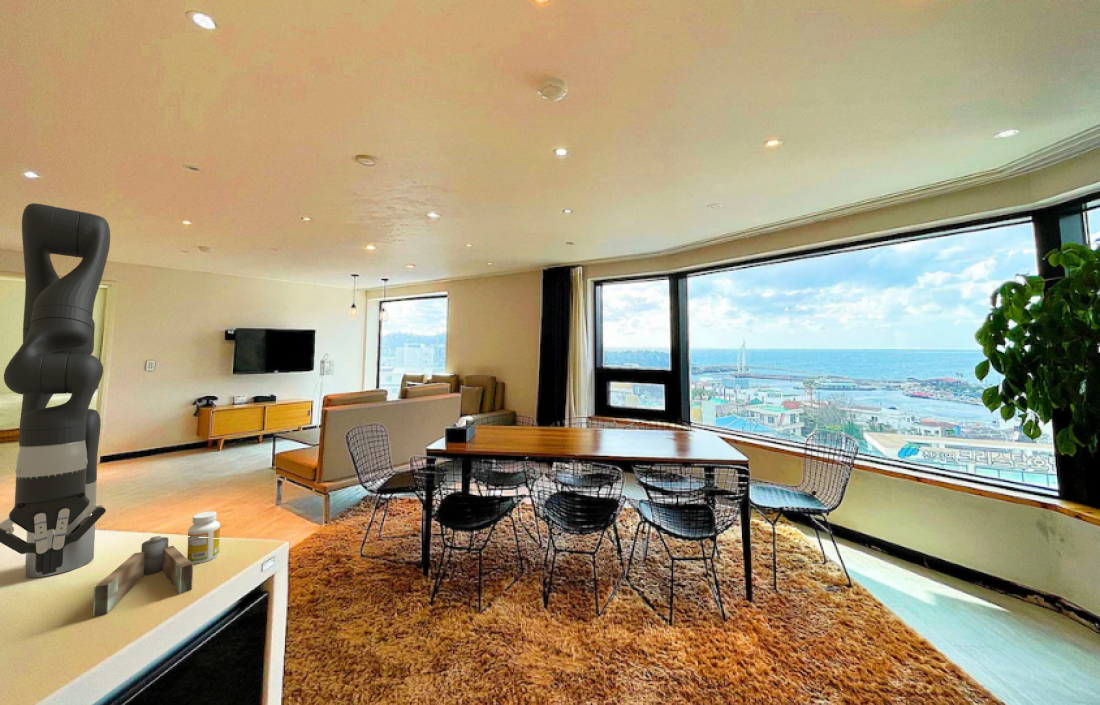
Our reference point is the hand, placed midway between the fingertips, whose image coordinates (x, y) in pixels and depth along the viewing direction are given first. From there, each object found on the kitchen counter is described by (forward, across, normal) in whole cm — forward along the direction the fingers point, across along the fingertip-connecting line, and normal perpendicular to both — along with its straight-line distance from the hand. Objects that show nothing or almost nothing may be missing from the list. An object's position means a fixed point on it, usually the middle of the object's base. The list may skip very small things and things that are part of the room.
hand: (48, 572), depth 67 cm
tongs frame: (+8, -15, -1) cm, 17 cm away
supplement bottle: (+8, -22, -6) cm, 24 cm away
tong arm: (+8, -9, -1) cm, 12 cm away
